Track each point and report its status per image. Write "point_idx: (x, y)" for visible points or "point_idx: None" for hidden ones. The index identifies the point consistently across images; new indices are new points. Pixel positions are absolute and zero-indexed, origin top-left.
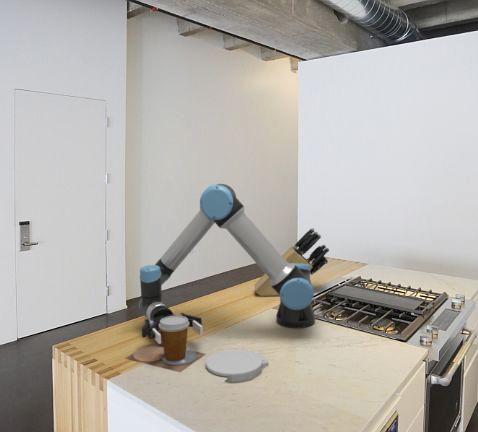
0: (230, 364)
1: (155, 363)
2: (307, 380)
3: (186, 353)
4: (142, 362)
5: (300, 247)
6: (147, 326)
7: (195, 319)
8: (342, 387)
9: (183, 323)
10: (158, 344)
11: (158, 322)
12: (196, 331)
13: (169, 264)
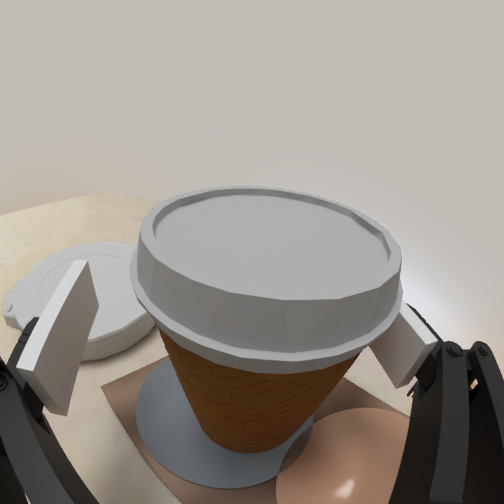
0: (105, 273)
1: (339, 392)
2: (47, 235)
3: (182, 423)
4: (392, 409)
5: None
6: (489, 412)
7: (4, 365)
8: (43, 218)
9: (215, 191)
10: None
11: (435, 489)
12: (81, 354)
13: None
